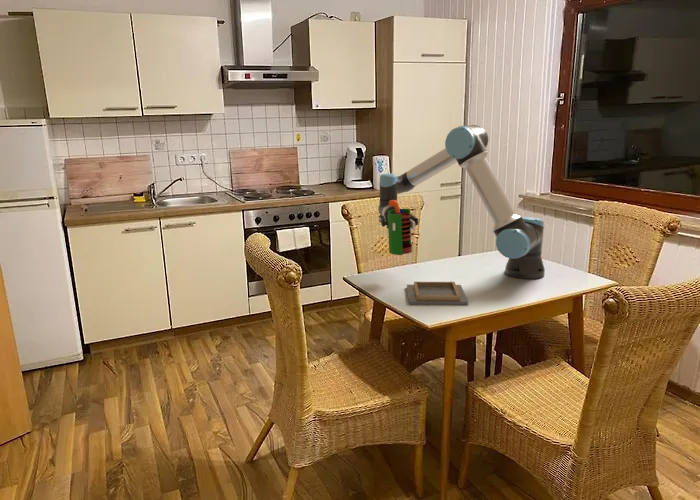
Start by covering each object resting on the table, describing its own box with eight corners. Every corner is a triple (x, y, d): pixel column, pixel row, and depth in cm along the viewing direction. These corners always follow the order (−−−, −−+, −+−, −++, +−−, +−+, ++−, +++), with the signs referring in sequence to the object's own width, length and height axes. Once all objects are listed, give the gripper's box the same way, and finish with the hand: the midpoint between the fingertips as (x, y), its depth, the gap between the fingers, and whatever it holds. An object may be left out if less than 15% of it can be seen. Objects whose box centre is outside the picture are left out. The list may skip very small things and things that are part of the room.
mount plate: (460, 287, 198) (460, 280, 197) (467, 305, 180) (468, 297, 180) (407, 287, 199) (407, 280, 198) (409, 304, 182) (409, 297, 181)
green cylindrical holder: (411, 255, 198) (408, 202, 192) (387, 255, 200) (384, 203, 194) (413, 247, 208) (411, 197, 202) (390, 247, 210) (388, 198, 204)
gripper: (415, 222, 220) (429, 235, 198) (369, 224, 218) (378, 237, 196) (416, 205, 218) (430, 215, 196) (368, 206, 216) (378, 217, 194)
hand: (404, 226), depth 196 cm, fingers closed on green cylindrical holder, 7 cm apart
